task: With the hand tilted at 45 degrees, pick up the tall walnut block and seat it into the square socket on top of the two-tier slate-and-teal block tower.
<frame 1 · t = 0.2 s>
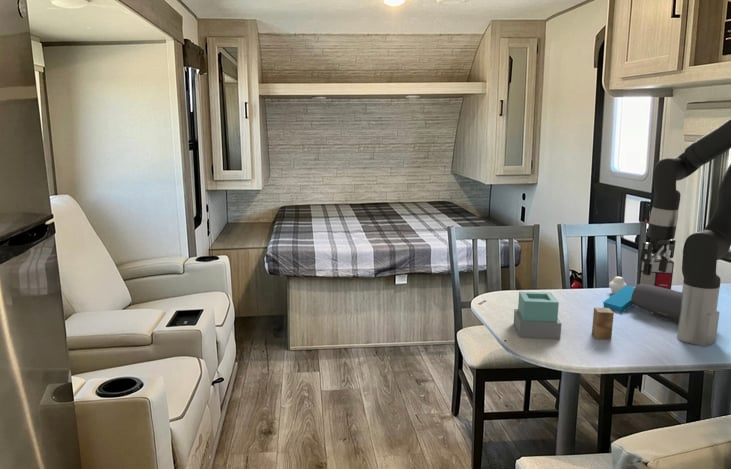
hand: (654, 273, 171), 18 cm above the table, tool pointing down, fingers open, 8 cm apart
walnut brick: (601, 336, 166), on the table
bluetooth speaker: (668, 319, 182), on the table
tower base: (536, 331, 171), on the table
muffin: (617, 294, 210), on the table
blue rectangular block: (626, 306, 196), on the table
calculator: (652, 299, 203), on the table
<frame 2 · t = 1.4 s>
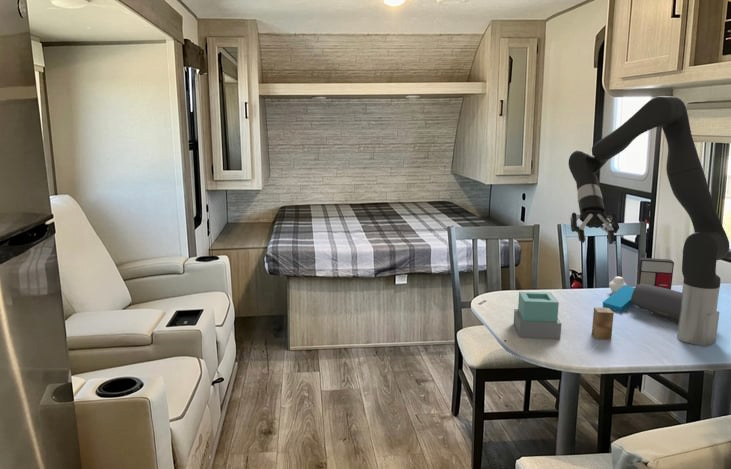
hand: (597, 242, 173), 27 cm above the table, tool tilted 45°, fingers open, 8 cm apart
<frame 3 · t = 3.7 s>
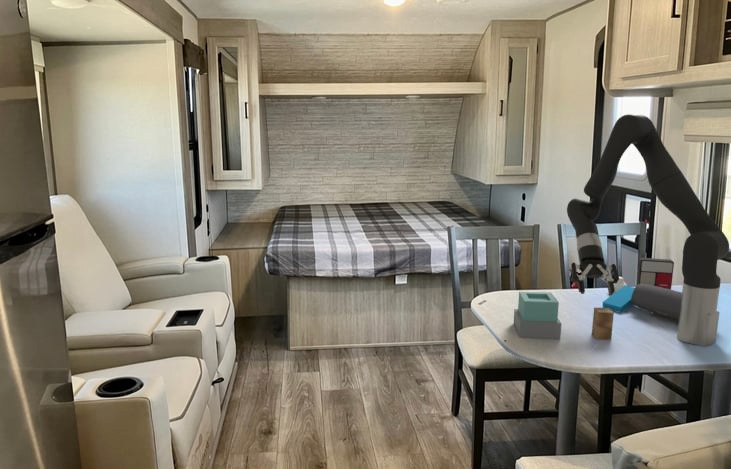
hand: (597, 293, 171), 11 cm above the table, tool tilted 45°, fingers open, 8 cm apart
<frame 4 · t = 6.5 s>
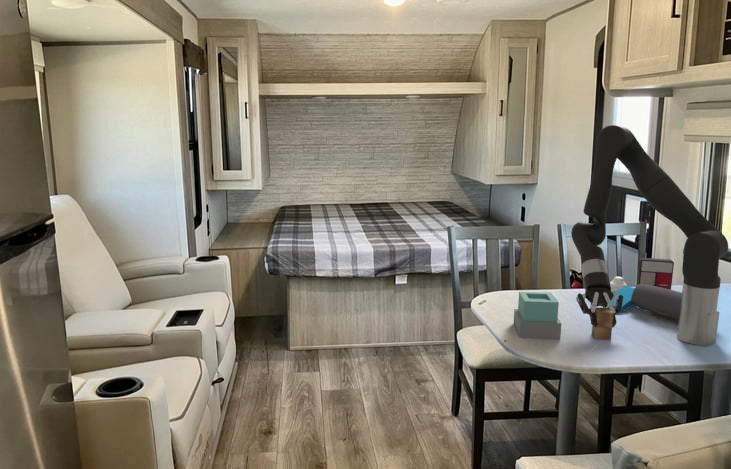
hand: (604, 325, 164), 4 cm above the table, tool tilted 45°, fingers closed on walnut brick, 4 cm apart
walnut brick: (601, 336, 166), on the table, touching gripper
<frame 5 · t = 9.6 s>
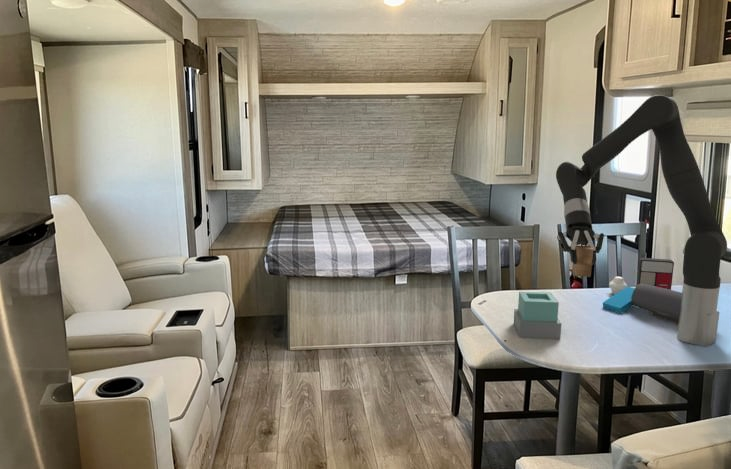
hand: (584, 262, 162), 23 cm above the table, tool tilted 45°, fingers closed on walnut brick, 4 cm apart
walnut brick: (581, 274, 165), point 19 cm above the table, touching gripper
when the fingers open (17 cm above the table, at t = 12.7 s): walnut brick drops 3 cm, resting on tower base.
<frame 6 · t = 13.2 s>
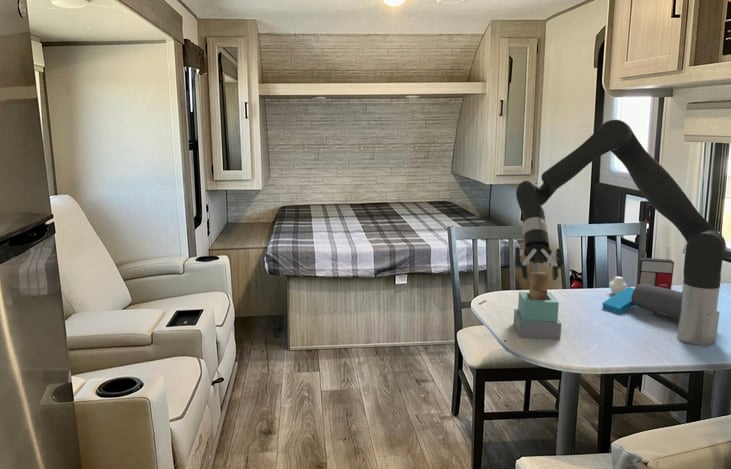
hand: (540, 278, 166), 17 cm above the table, tool tilted 45°, fingers open, 8 cm apart
walnut brick: (537, 300, 169), point 10 cm above the table, touching tower base
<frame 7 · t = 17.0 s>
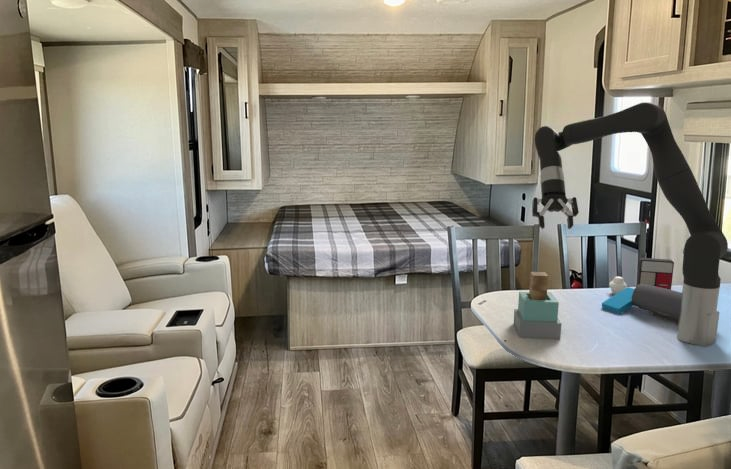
hand: (556, 228, 177), 31 cm above the table, tool tilted 30°, fingers open, 8 cm apart
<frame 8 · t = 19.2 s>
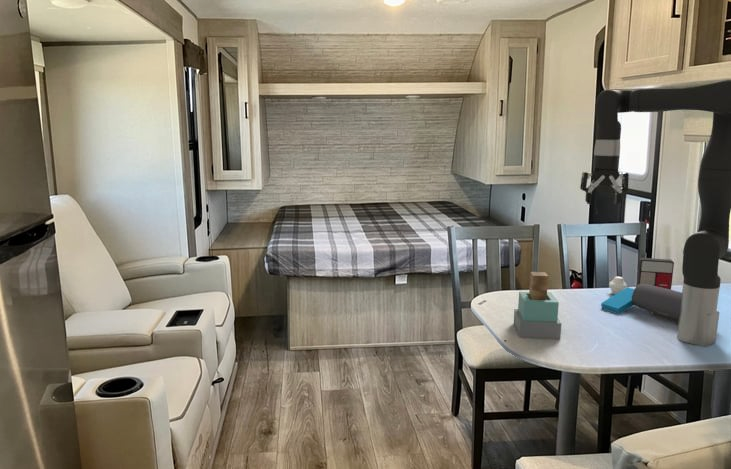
hand: (602, 204, 178), 38 cm above the table, tool pointing down, fingers open, 8 cm apart
at the end: walnut brick 0.1 cm off-centre on the tower base, point 10.0 cm above the tower base's base; walnut brick tilted 0°; the gripper is holding nothing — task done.
